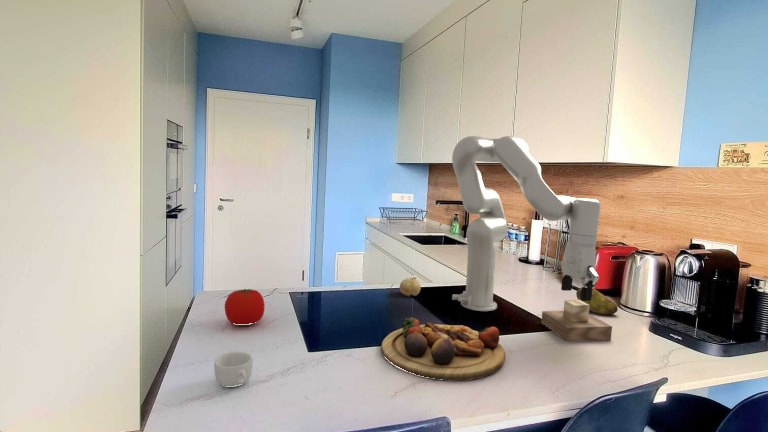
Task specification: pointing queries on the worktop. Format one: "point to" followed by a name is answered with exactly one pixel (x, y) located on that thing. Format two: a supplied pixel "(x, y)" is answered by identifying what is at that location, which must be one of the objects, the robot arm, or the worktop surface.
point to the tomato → (244, 306)
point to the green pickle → (600, 303)
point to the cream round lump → (410, 287)
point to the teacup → (233, 368)
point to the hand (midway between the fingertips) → (575, 295)
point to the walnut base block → (576, 327)
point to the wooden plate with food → (444, 350)
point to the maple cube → (576, 310)
